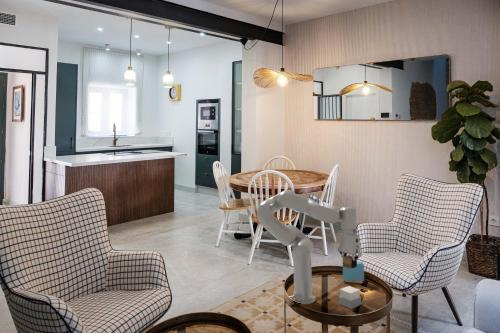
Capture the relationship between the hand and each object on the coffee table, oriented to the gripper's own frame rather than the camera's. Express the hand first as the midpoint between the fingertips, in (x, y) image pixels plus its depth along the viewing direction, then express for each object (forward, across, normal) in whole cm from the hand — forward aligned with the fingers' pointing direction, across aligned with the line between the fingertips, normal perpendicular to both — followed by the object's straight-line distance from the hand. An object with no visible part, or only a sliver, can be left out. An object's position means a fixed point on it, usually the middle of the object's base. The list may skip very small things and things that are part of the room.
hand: (349, 265), depth 192 cm
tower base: (+21, 0, 0) cm, 21 cm away
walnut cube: (+1, 0, 0) cm, 1 cm away
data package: (+21, +18, -26) cm, 38 cm away
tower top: (+17, 0, 0) cm, 17 cm away
